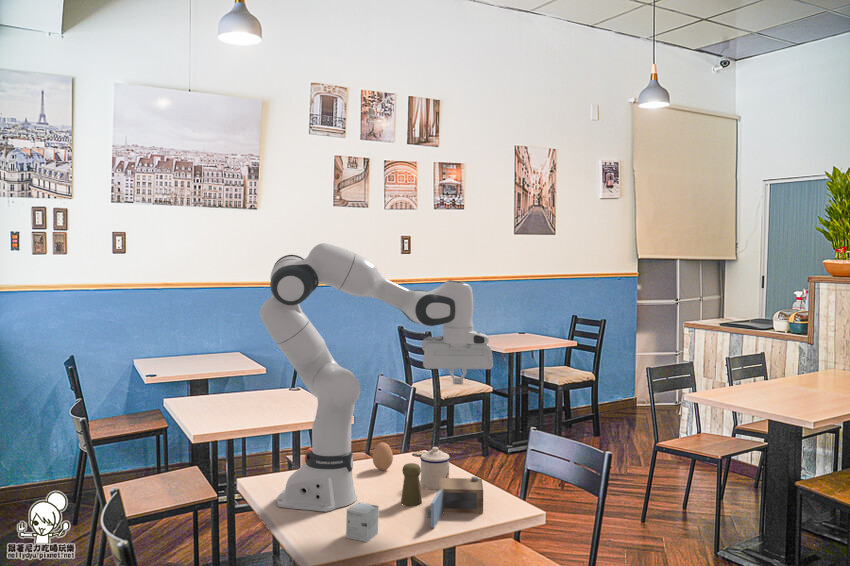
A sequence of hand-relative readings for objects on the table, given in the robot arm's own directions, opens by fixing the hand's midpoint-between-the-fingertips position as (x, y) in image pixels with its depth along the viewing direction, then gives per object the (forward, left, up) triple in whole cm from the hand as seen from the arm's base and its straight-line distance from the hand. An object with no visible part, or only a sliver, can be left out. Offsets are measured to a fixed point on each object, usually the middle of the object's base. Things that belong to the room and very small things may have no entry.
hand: (457, 384), depth 191 cm
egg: (-24, +23, -33) cm, 47 cm away
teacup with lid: (-7, +11, -33) cm, 36 cm away
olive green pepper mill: (-13, -5, -33) cm, 36 cm away
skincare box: (-24, -28, -33) cm, 50 cm away
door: (-6, -18, -33) cm, 38 cm away
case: (+1, -7, -33) cm, 34 cm away
